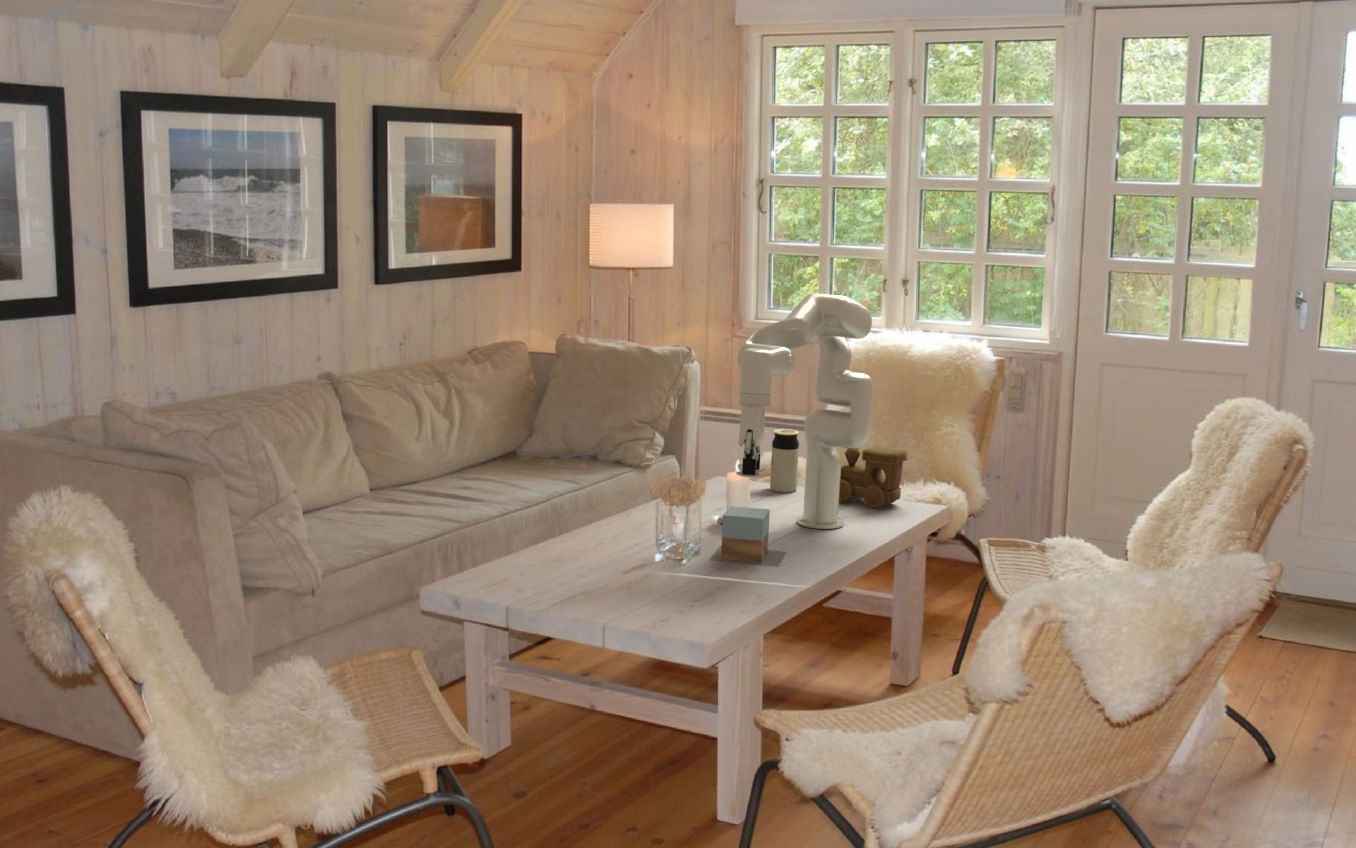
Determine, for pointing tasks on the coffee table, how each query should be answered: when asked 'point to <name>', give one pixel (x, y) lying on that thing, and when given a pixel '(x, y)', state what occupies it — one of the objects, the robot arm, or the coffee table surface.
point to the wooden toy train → (872, 476)
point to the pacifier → (749, 475)
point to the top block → (745, 523)
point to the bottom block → (744, 549)
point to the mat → (769, 560)
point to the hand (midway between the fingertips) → (751, 471)
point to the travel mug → (784, 461)
